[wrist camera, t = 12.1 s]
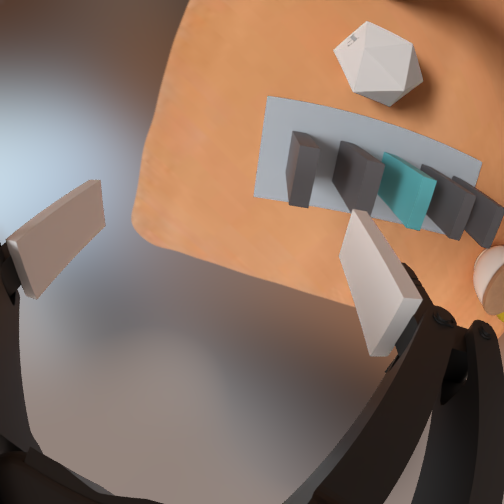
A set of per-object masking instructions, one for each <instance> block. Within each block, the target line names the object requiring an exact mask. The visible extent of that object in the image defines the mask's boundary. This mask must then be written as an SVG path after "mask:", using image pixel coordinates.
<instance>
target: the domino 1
mask: <svg viewBox="0 0 504 504" xmlns="http://www.w3.org/2000/svg"><path fill="white" fill-rule="evenodd" d="M320 150H321V149H320V148H319V147H318V145H317V144H316V143H315V142H314V141H313V140H312V139H311V137H310V136H309V135H308V134H307V133H303V132H298V131H292V136H291V142H290V148H289V154H288V160H287V166H286V172H285V174H286V183H287V192H288V201H289V205H292V206H298V207H304V208H308V207H309V202H310V198H311V193H312V189H313V184H314V179H315V174H316V170H317V165H318V160H319V155H320Z"/></svg>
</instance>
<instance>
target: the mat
mask: <svg viewBox="0 0 504 504" xmlns="http://www.w3.org/2000/svg"><path fill="white" fill-rule="evenodd" d="M292 131H298V132H303V133H307V134H308V135H309V136H310V137H311V139H312V140H313V141H314V142H315V143H316V144H317V145H318V147H319V148H320V149H321V150H320V155H319V160H318V165H317V170H316V174H315V179H314V184H313V189H312V193H311V198H310V202H309V206H315V207H320V208H326V209H331V210H337V211H342V212H347V213H350V211H349V209H348V207H347V206H346V204H345V202H344V201H343V199H342V197H341V196H340V194H339V192H338V191H337V189H336V187H335V186H334V184H333V182H332V178H333V174H334V169H335V165H336V160H337V155H338V151H339V146H340V141H346V142H350V143H354V144H355V145H357V146H359V147H360V148H362V149H363V150H365V151H366V152H368V153H369V154H371V155H372V156H374V157H375V158H377V159H378V160H379V161H381V162H382V158H383V154H384V152H387V153H390V154H394V155H396V156H398V157H400V158H401V159H403V160H405V161H407V162H408V163H410V164H411V165H413V166H415V167H416V168H418V169H420V168H421V165H422V164H424V165H427V166H430V167H432V168H434V169H435V170H437V171H439V172H440V173H442V174H444V175H445V176H447V177H449V178H450V179H452V177H453V176H456V177H458V178H461V179H462V180H464V181H466V182H467V183H469V184H470V185H472V186H473V187H475V185H476V182H477V179H478V175H479V172H480V168H481V165H482V162H481V161H479V160H477V159H475V158H473V157H471V156H469V155H467V154H465V153H463V152H460V151H458V150H456V149H454V148H452V147H450V146H447V145H445V144H443V143H440V142H438V141H435V140H433V139H431V138H428V137H426V136H423V135H420V134H418V133H415V132H412V131H410V130H407V129H404V128H401V127H398V126H395V125H392V124H389V123H386V122H383V121H380V120H377V119H373V118H370V117H366V116H363V115H359V114H356V113H352V112H348V111H344V110H340V109H336V108H331V107H327V106H322V105H318V104H313V103H308V102H303V101H297V100H291V99H285V98H279V97H272V96H267V103H266V110H265V117H264V124H263V132H262V139H261V146H260V153H259V161H258V168H257V175H256V183H255V190H254V197H259V198H266V199H272V200H279V201H285V202H289V201H288V192H287V183H286V174H285V172H286V166H287V160H288V154H289V148H290V142H291V136H292ZM371 217H372V218H376V219H381V220H386V221H390V222H395V223H399V224H403V223H402V222H401V221H400V220H399V218H398V217H397V216H396V215H395V214H394V213H393V211H392V210H391V209H390V208H389V207H388V206H387V204H386V203H385V202H384V201H383V200H382V199H381V198H380V197H379V196H378V194H377V197H376V200H375V204H374V207H373V210H372V213H371ZM421 229H425V230H429V231H433V232H437V233H441V234H445V233H444V232H443V231H442V230H441V229H440V228H439V227H438V226H437V225H436V224H435V223H434V222H433V221H432V220H431V219H430V218H429V217H428V216H427V215H425V218H424V221H423V224H422V226H421ZM445 235H446V234H445Z"/></svg>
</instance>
